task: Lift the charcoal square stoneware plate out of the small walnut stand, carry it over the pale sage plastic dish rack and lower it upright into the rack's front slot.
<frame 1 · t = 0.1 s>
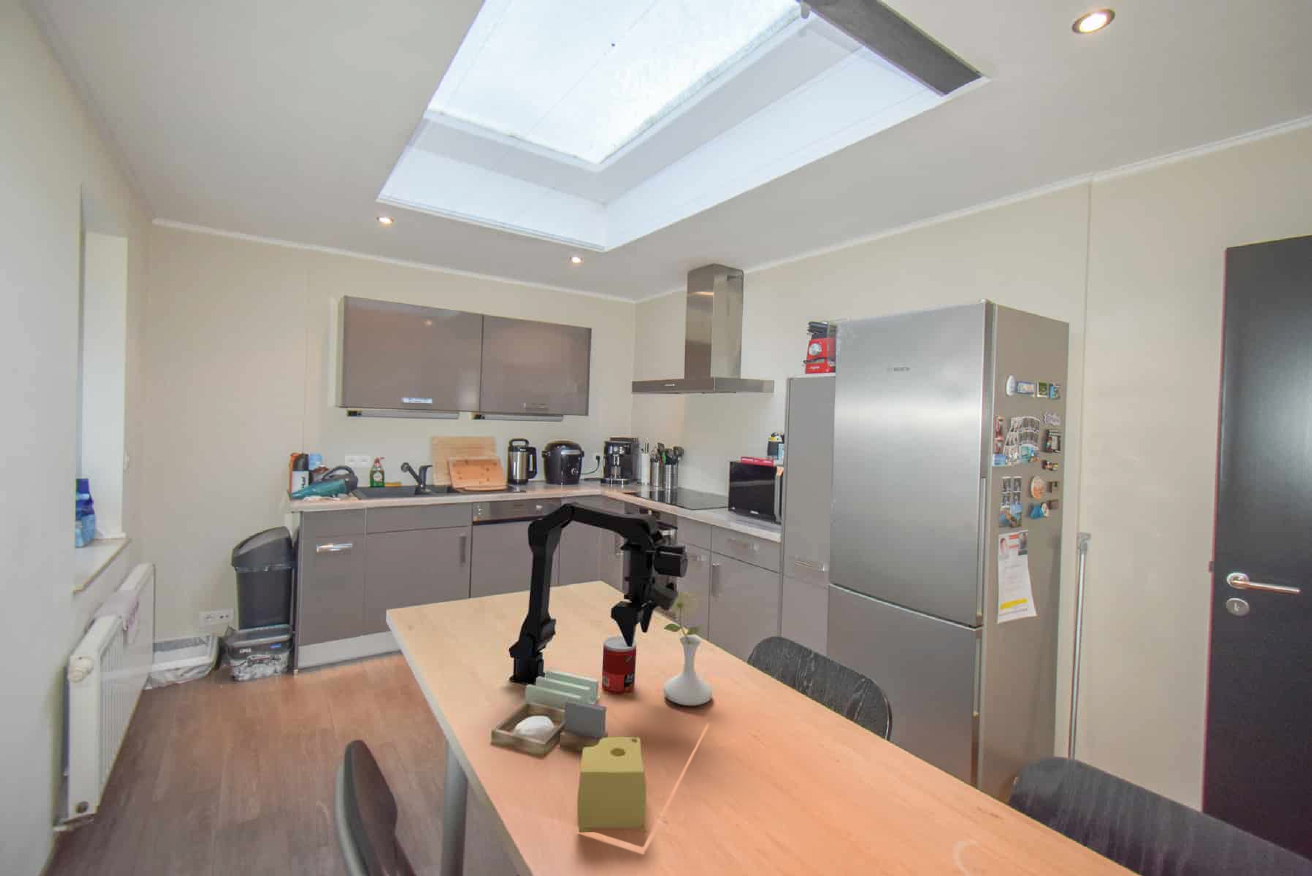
hand: (637, 639, 129), 15 cm above the table, fingers open, 9 cm apart
plate: (583, 744, 111), point 1 cm above the table, touching plate stand
garlic: (533, 739, 114), resting in garlic trivet frame
dish rack: (561, 704, 127), on the table
cheese: (610, 813, 94), on the table
garlic trivet frame: (534, 735, 114), on the table
plate stand: (583, 748, 111), on the table
flower in vase: (684, 698, 133), on the table
canned food: (618, 688, 137), on the table
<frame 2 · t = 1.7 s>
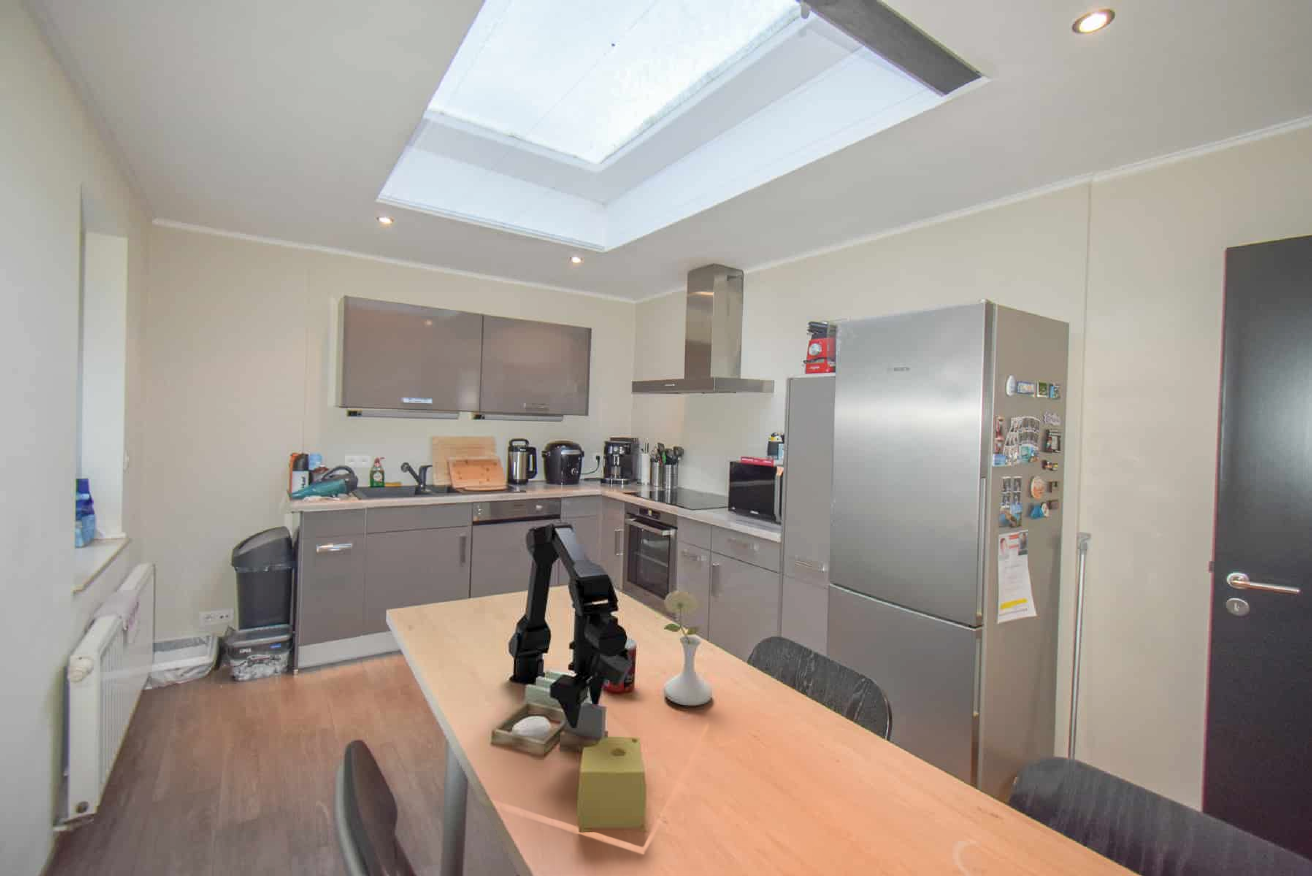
hand: (584, 715, 111), 7 cm above the table, fingers open, 9 cm apart
nothing on the table moved.
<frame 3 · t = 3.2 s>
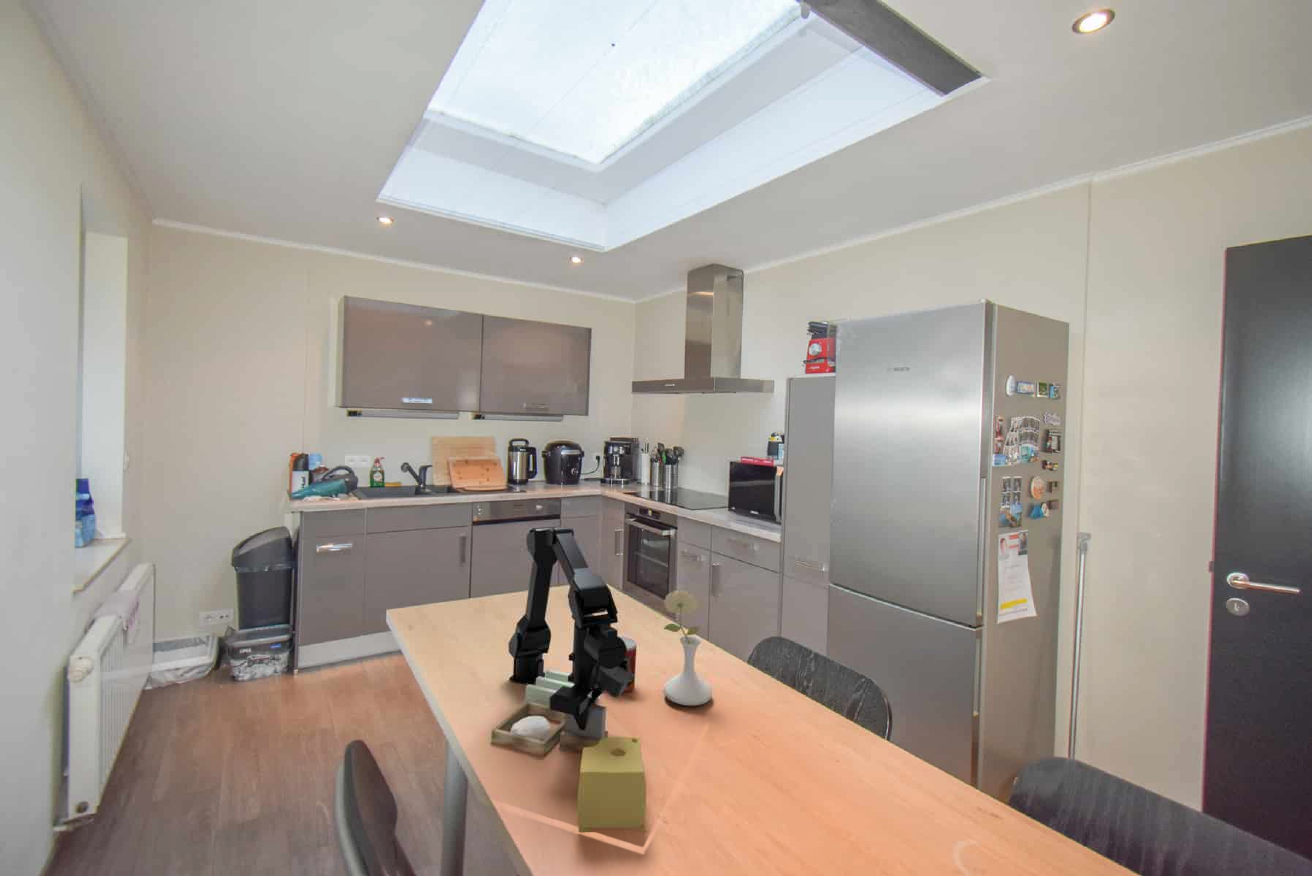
hand: (584, 727, 111), 4 cm above the table, fingers closed on plate, 2 cm apart
plate: (583, 744, 111), point 1 cm above the table, touching gripper, plate stand
garlic: (529, 739, 114), resting in garlic trivet frame
everything else where it was.
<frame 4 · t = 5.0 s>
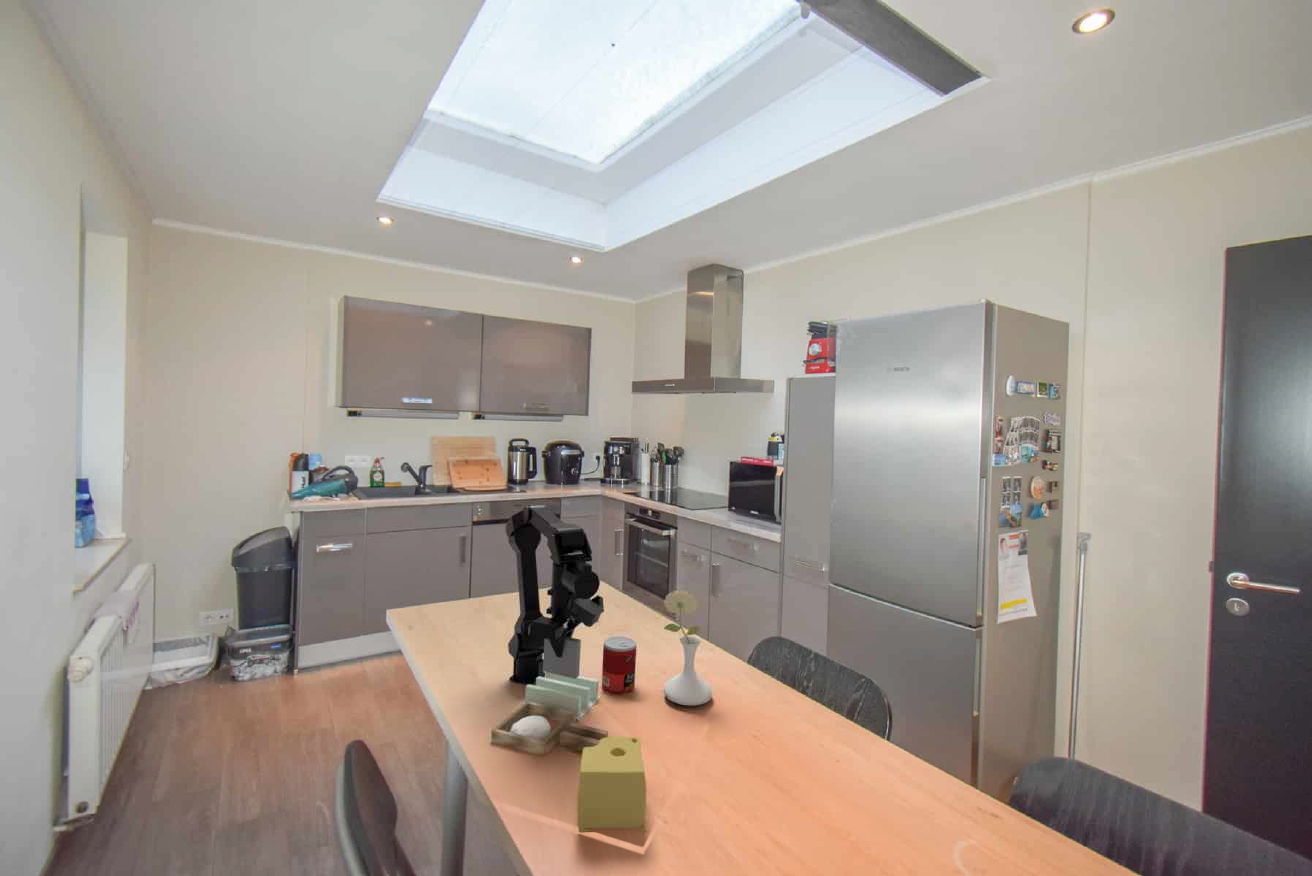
hand: (561, 655, 123), 13 cm above the table, fingers closed on plate
plate: (560, 673, 124), point 9 cm above the table, touching gripper
garlic: (529, 739, 114), resting in garlic trivet frame
everything else where it was.
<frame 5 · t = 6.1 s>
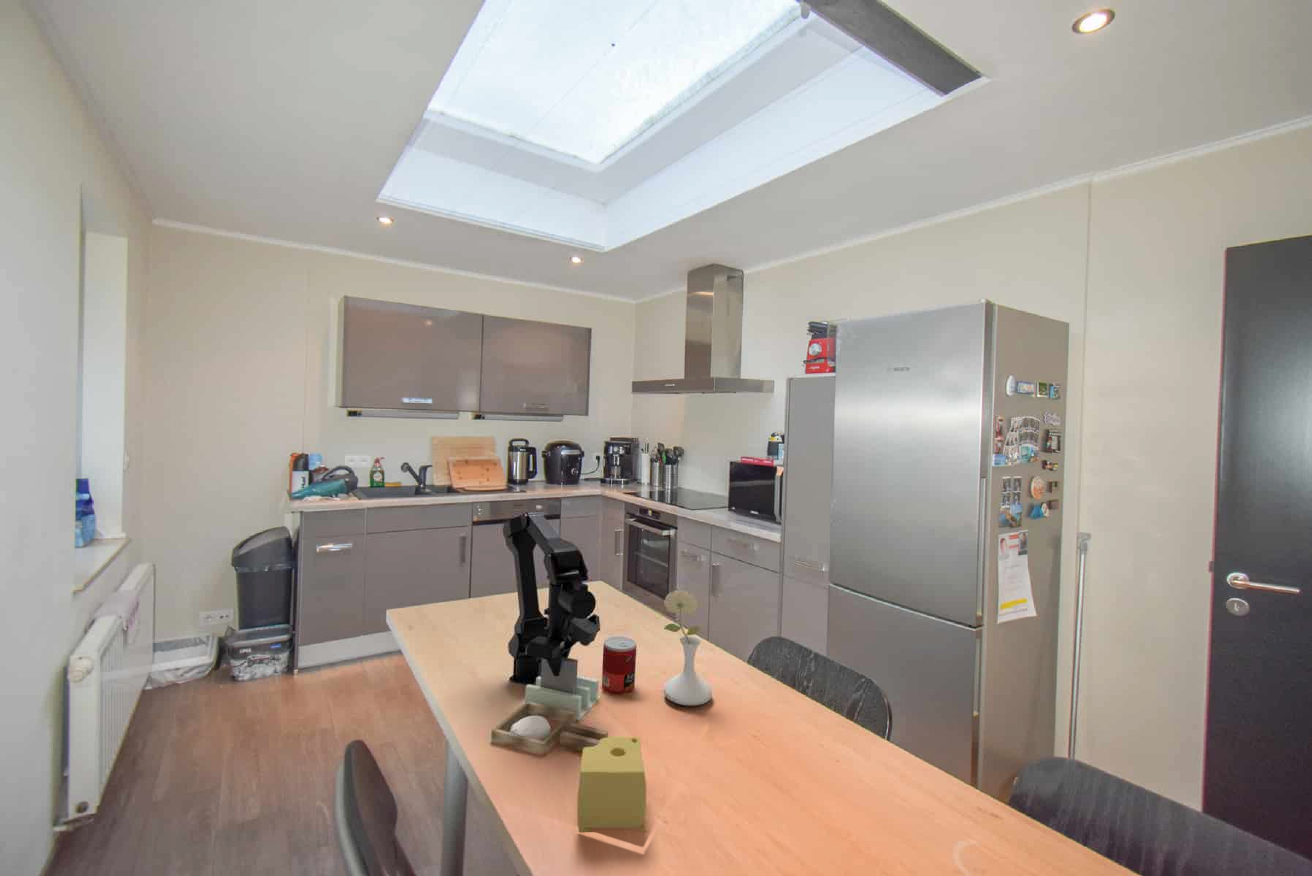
hand: (558, 674, 125), 8 cm above the table, fingers closed on plate
plate: (558, 693, 125), point 4 cm above the table, touching gripper
everything else where it was.
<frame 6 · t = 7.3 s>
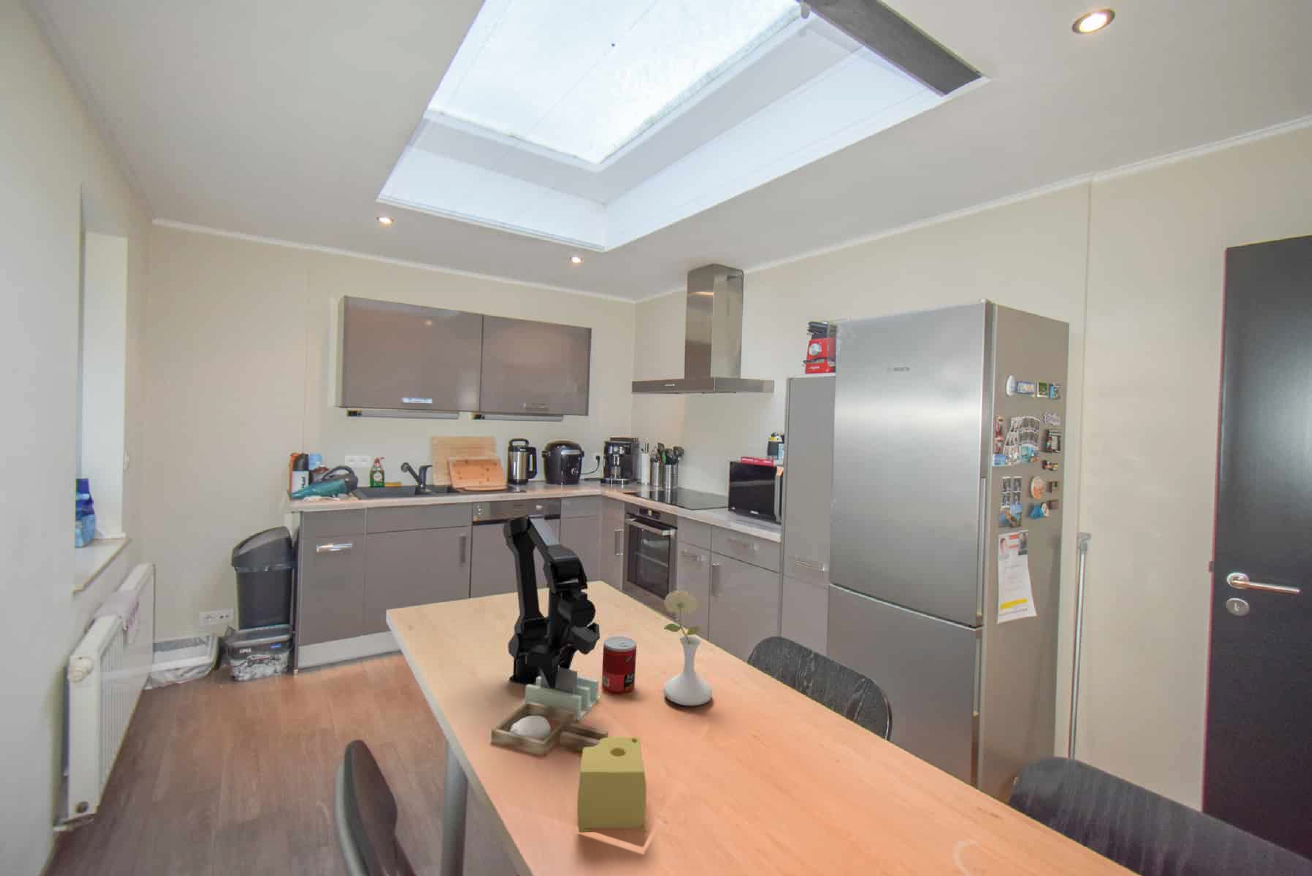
hand: (558, 682, 125), 6 cm above the table, fingers open, 5 cm apart
plate: (557, 704, 125), point 1 cm above the table, touching dish rack
everything else where it was.
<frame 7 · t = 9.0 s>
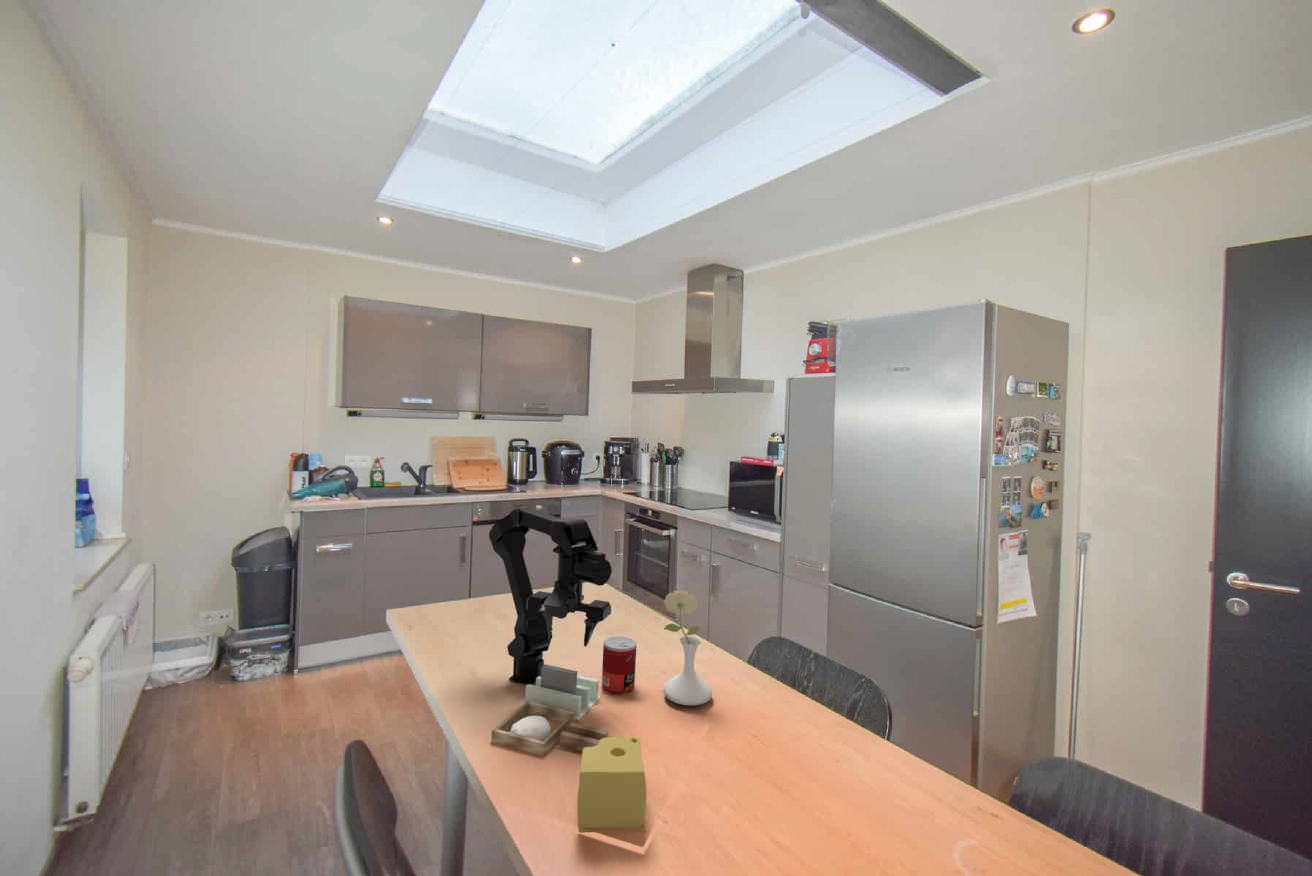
hand: (566, 642, 130), 13 cm above the table, fingers open, 9 cm apart
nothing on the table moved.
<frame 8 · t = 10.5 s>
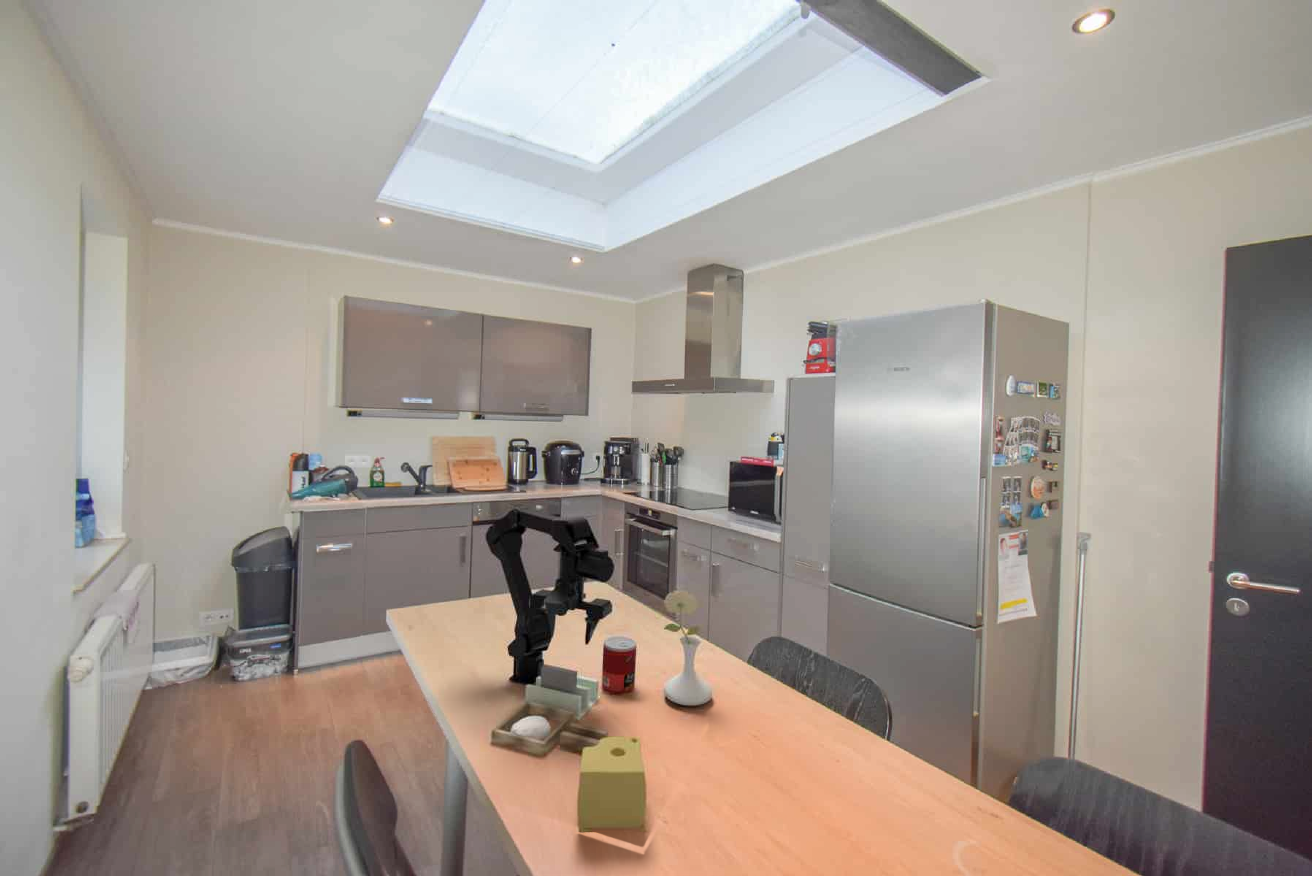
hand: (569, 640, 131), 13 cm above the table, fingers open, 9 cm apart
nothing on the table moved.
at the end: plate inside the target area on the dish rack (0.1 cm from its centre), point 1.0 cm above the dish rack's base; plate tilted 0°; the gripper is holding nothing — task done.
